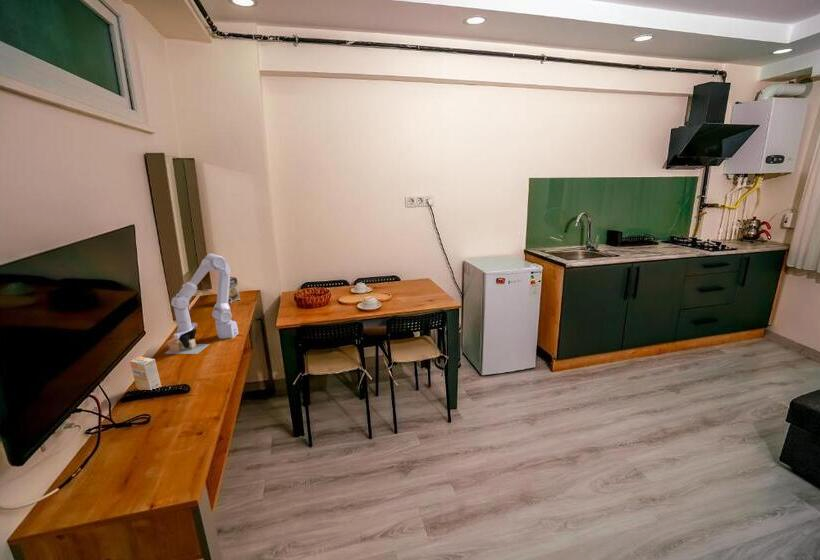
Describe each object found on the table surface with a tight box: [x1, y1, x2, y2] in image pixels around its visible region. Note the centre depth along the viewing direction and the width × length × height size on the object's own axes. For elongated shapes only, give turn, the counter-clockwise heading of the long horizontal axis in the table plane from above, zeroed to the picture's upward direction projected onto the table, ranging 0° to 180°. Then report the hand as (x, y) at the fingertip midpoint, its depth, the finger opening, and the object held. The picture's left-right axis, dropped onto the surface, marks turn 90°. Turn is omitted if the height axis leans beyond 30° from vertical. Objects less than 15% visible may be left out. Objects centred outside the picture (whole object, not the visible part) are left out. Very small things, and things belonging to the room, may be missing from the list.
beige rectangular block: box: [176, 338, 197, 349], centre depth 183 cm, size 8×3×4 cm, turn 86°
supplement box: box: [129, 355, 162, 391], centre depth 149 cm, size 8×5×13 cm, turn 70°
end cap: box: [166, 337, 181, 351], centre depth 184 cm, size 6×6×4 cm
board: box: [164, 343, 211, 355], centre depth 183 cm, size 17×10×1 cm, turn 86°
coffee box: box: [228, 276, 241, 305], centre depth 247 cm, size 9×6×16 cm
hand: (189, 345), depth 184 cm, fingers closed on beige rectangular block, 3 cm apart
